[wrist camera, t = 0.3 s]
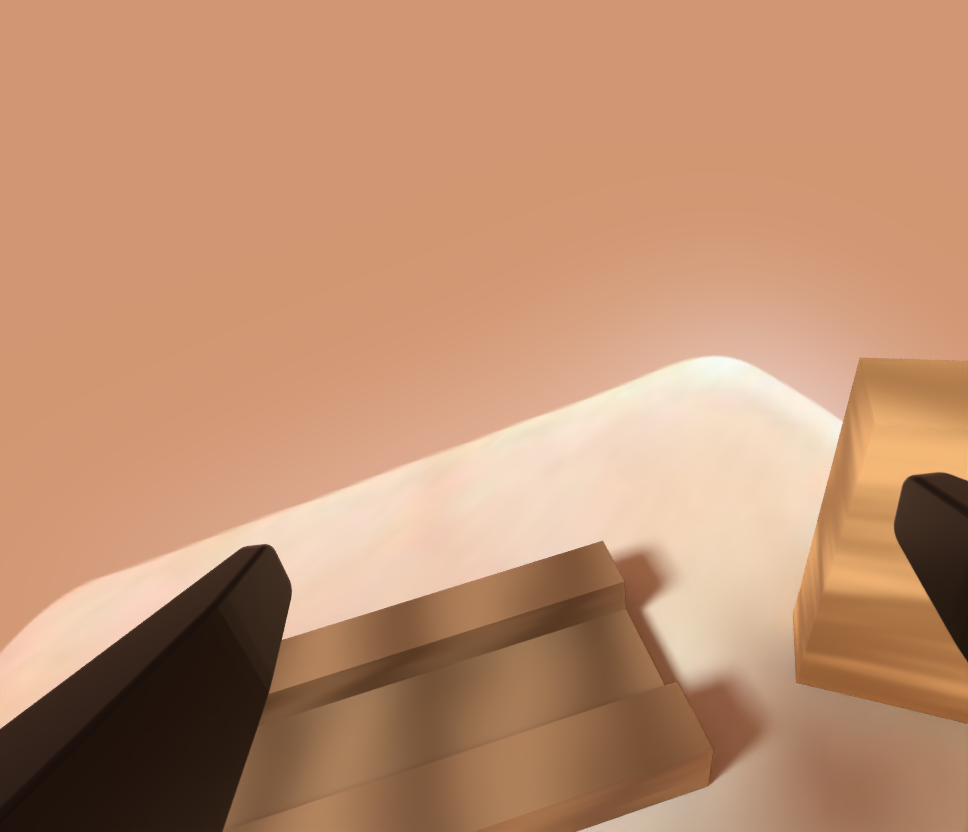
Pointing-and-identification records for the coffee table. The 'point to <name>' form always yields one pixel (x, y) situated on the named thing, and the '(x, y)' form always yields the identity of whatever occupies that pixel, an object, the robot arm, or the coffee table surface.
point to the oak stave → (883, 545)
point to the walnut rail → (473, 714)
